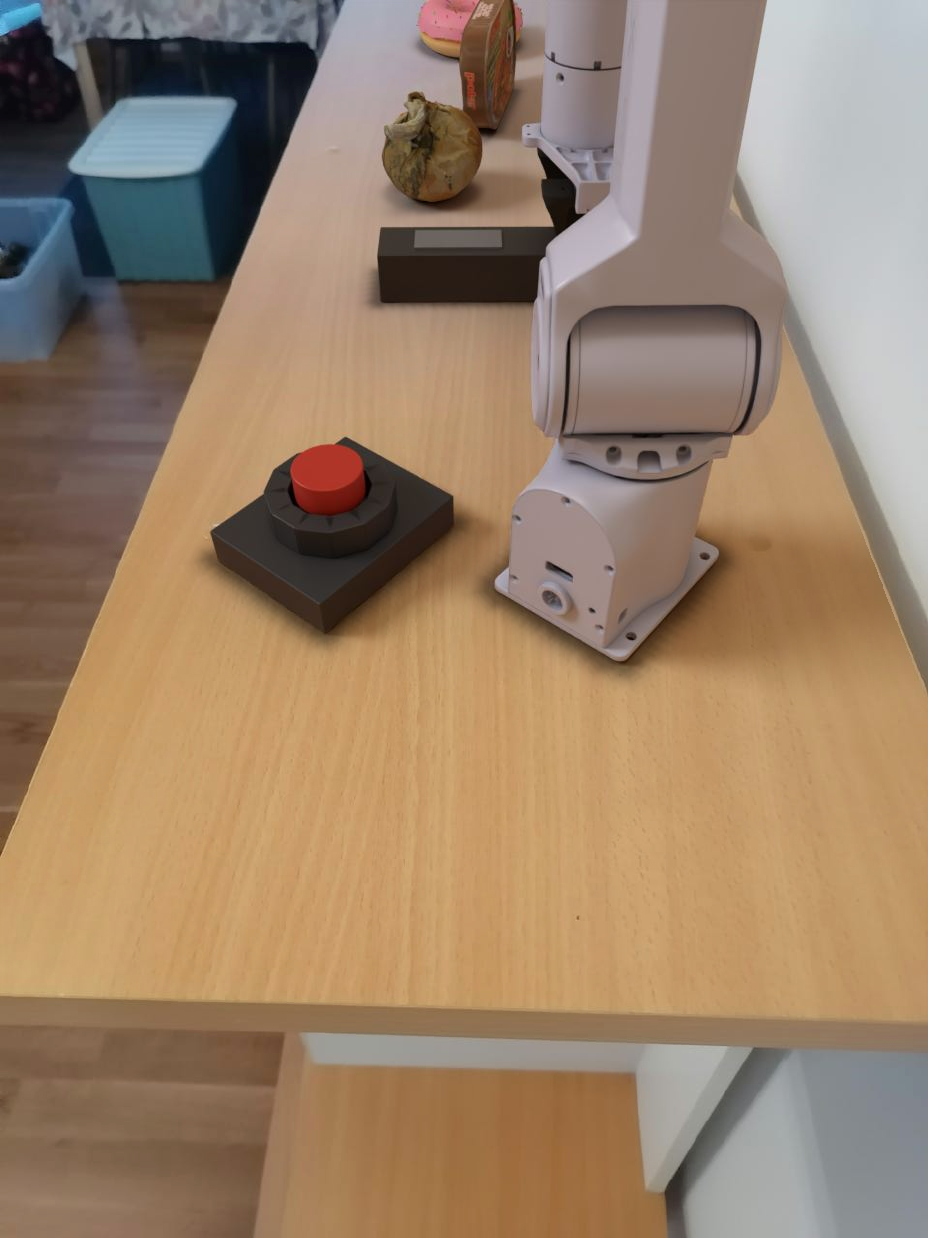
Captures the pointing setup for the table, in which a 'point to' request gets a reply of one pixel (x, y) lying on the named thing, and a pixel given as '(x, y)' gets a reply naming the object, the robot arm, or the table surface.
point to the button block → (333, 539)
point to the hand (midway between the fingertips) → (573, 265)
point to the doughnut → (450, 24)
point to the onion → (431, 150)
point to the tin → (488, 61)
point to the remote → (461, 263)
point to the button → (328, 479)
